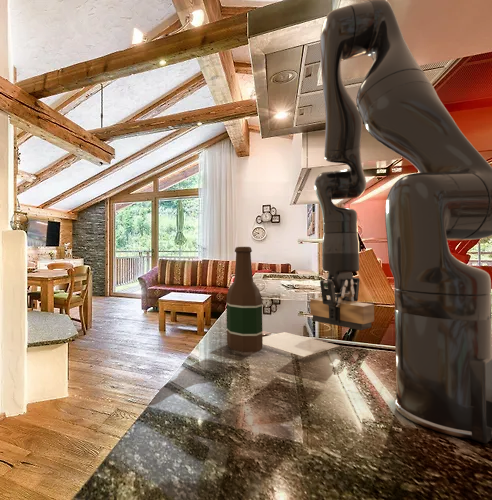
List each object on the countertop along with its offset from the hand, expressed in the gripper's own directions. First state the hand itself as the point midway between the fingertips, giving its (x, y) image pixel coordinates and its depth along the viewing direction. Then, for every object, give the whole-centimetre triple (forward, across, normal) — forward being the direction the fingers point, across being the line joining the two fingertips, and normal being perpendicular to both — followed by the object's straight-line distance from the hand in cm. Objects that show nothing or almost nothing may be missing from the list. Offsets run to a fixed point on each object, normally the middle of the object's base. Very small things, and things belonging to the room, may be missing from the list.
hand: (341, 320), depth 73 cm
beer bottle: (+6, -24, +9) cm, 26 cm away
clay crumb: (+6, -11, +15) cm, 19 cm away
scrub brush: (+1, 0, 0) cm, 1 cm away
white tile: (+6, -12, +5) cm, 14 cm away
